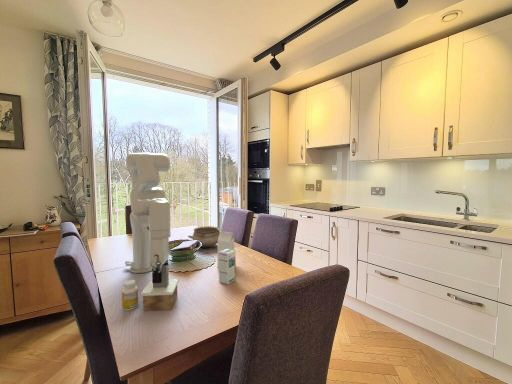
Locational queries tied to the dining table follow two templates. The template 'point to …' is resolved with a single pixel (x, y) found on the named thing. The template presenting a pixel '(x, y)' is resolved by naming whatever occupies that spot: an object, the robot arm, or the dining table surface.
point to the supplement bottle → (129, 295)
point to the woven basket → (206, 236)
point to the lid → (161, 285)
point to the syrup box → (227, 266)
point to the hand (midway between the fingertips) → (160, 277)
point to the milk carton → (225, 242)
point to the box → (159, 302)
